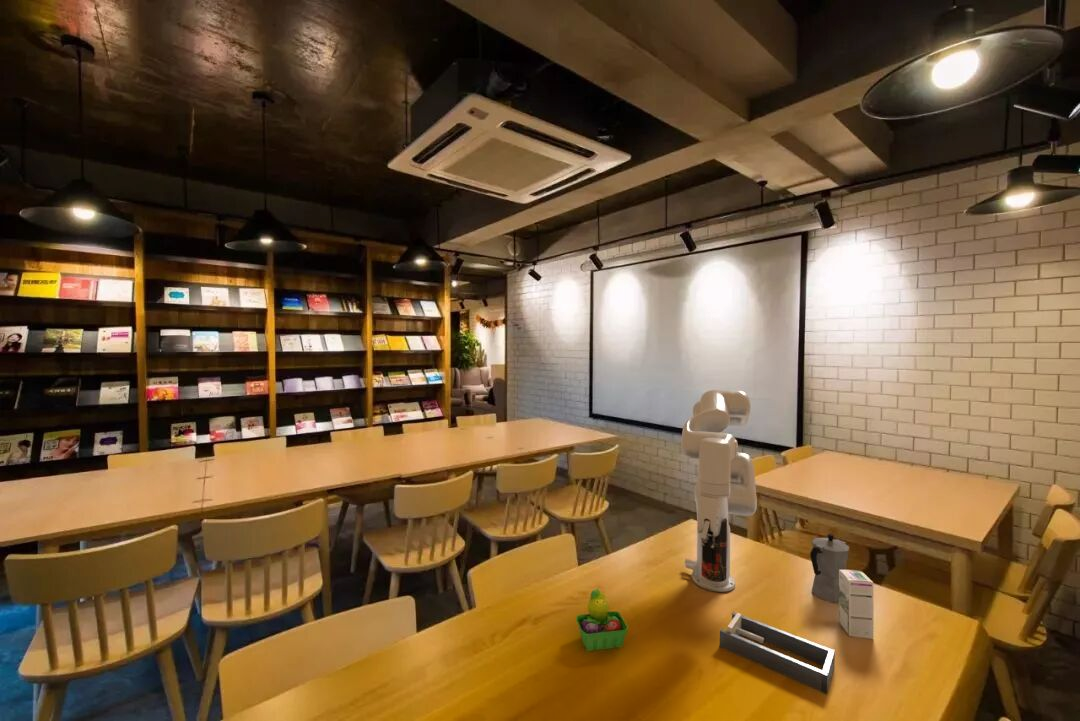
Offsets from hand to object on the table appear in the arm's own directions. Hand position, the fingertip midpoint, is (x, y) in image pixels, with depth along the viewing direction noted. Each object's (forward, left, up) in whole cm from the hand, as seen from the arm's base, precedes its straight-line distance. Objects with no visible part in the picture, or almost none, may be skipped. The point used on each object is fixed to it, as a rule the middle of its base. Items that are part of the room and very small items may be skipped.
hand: (713, 556), depth 112 cm
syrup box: (+27, +24, -20) cm, 41 cm away
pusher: (+8, 0, -19) cm, 21 cm away
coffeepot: (+19, +38, -20) cm, 47 cm away
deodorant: (0, 0, -5) cm, 5 cm away
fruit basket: (-20, -22, -20) cm, 36 cm away
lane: (+14, 0, -19) cm, 24 cm away
